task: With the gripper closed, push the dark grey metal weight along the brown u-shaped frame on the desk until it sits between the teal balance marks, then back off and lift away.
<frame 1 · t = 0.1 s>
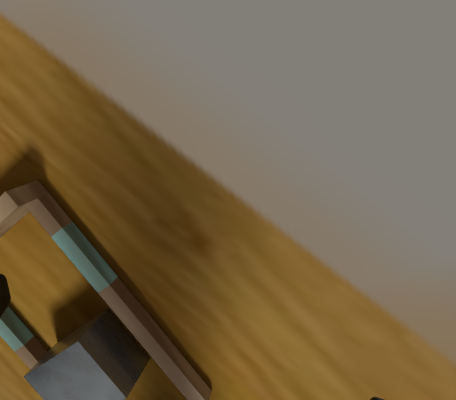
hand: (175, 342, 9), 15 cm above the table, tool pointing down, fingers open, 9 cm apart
brown u-shaped frame: (89, 336, 30), on the table
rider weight: (103, 349, 30), resting in brown u-shaped frame
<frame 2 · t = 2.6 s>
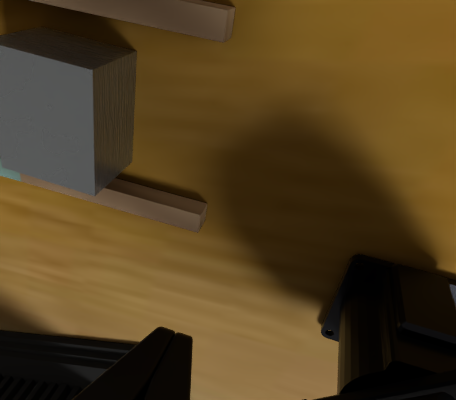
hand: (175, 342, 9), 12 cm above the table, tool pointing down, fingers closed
brown u-shaped frame: (63, 92, 21), on the table
award: (57, 394, 39), on the table
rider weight: (91, 97, 20), resting in brown u-shaped frame
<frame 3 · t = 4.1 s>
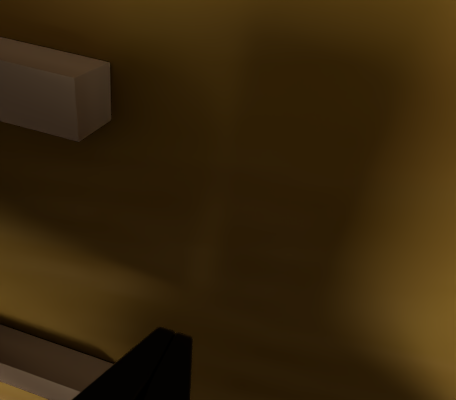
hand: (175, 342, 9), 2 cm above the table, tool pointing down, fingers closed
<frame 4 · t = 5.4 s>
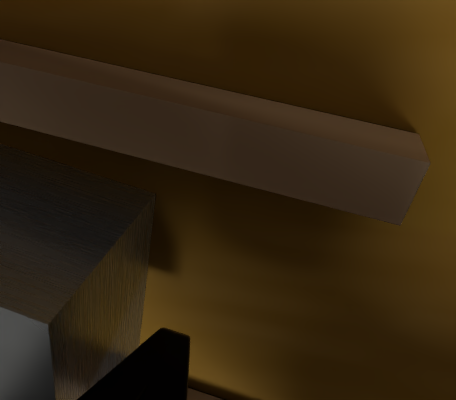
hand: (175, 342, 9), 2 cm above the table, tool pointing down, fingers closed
brown u-shaped frame: (34, 244, 11), on the table
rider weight: (64, 253, 11), resting in brown u-shaped frame, touching gripper
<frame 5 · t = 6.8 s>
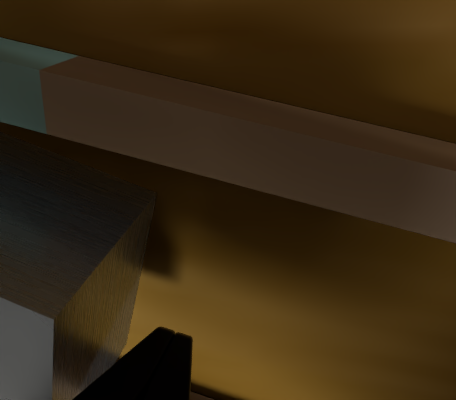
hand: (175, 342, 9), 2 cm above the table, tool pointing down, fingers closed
brown u-shaped frame: (177, 290, 10), on the table
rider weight: (60, 242, 11), resting in brown u-shaped frame
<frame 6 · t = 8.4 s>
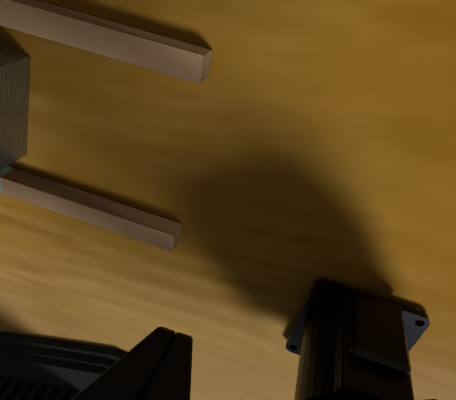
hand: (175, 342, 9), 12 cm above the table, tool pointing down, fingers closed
brown u-shaped frame: (46, 113, 21), on the table
award: (33, 389, 40), on the table
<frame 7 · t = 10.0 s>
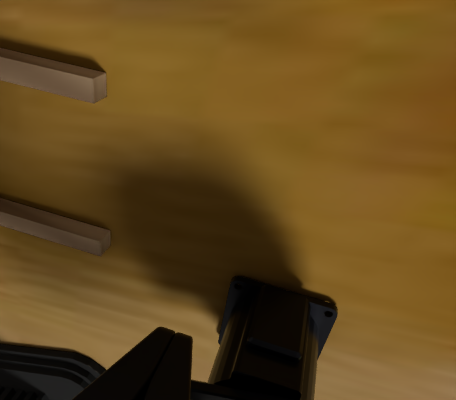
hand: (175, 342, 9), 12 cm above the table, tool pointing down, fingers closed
award: (11, 396, 42), on the table
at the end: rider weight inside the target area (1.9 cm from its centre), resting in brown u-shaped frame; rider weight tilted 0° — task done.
